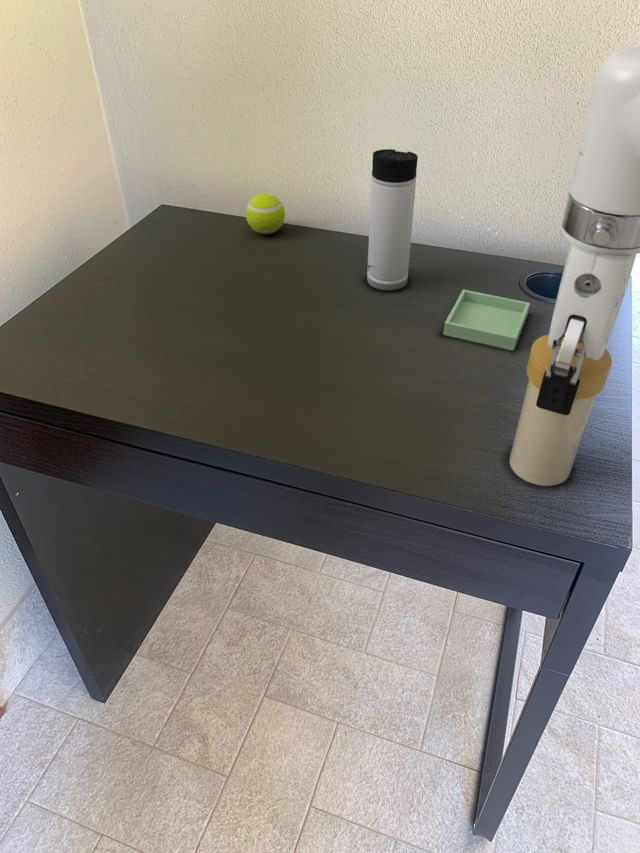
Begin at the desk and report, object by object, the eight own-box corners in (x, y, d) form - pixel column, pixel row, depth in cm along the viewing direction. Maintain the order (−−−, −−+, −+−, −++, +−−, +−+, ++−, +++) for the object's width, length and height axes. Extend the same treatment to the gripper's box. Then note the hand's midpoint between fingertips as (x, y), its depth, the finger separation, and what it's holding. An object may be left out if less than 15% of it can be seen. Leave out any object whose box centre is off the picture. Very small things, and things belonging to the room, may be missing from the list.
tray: (527, 314, 99) (530, 302, 97) (513, 350, 92) (516, 338, 91) (461, 301, 102) (462, 289, 100) (442, 335, 95) (444, 322, 94)
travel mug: (360, 287, 105) (365, 155, 91) (374, 268, 109) (381, 139, 96) (399, 295, 103) (409, 162, 90) (412, 275, 107) (424, 145, 94)
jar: (574, 453, 77) (608, 349, 67) (565, 493, 72) (601, 387, 63) (515, 438, 79) (541, 335, 69) (503, 475, 74) (528, 370, 65)
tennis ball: (291, 236, 118) (290, 199, 113) (254, 244, 116) (252, 206, 111) (277, 221, 122) (275, 184, 118) (242, 228, 120) (238, 191, 116)
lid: (536, 346, 71) (541, 325, 70) (610, 365, 69) (618, 344, 67) (517, 386, 66) (522, 364, 65) (596, 408, 64) (604, 386, 62)
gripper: (643, 275, 50) (583, 451, 61) (670, 188, 61) (615, 351, 73) (540, 253, 52) (500, 426, 64) (585, 174, 64) (544, 333, 75)
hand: (562, 385), depth 68 cm, fingers closed on lid, 7 cm apart
